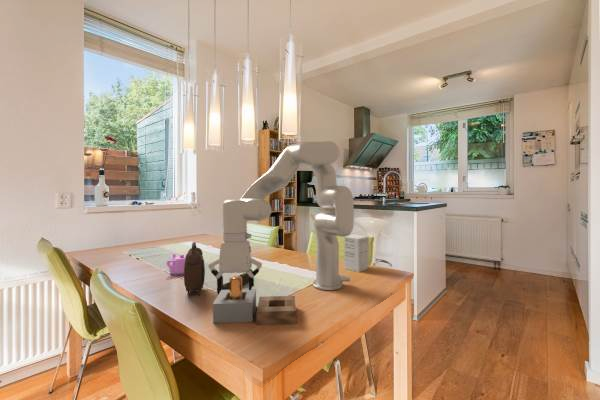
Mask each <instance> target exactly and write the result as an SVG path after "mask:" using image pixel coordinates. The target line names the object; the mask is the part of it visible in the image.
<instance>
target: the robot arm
mask: <svg viewBox="0 0 600 400" xmlns="http://www.w3.org/2000/svg"><path fill="white" fill-rule="evenodd" d="M339 158H340V147H339V146H338V144H336V143H335V142H333V141H330V140H329V141H325V140H324V141H303V142H298V143H292V144H290V145H287V146H286V147H285V148H284V149H283V151H282V152H281V153H280V154H279V156H278V157H277V159H276V160H275V162H274V163H273V164H272V166H271V167H269V169H268V171H267V172H266V173H264V174H263V175H262V176H261V177H259V178H258V179H257V180H256V181H254V183H252V184H251V185H250V186H249V188H247V190H246V191H245V192H244V194H243V195H242V196H241V197H240V199H226V200H224V201H223V203H222V222H223V223H222V225H223V227H222V230H223V231H222V233H223V234H222V235H223V238H222V240H223V241H221V243H220V246H219V247H220V250H219V258H218V259H216V260H214V261H213V262H209V264H208V265H207V267H208V269H209V270H210V272H211V274H212V275H213V276H214V277H215V279H216V288H217V287H219V291H221V290H222V288H223V285H224V276H223V274H236V273H237V274H238V273H239V274H241V273H242V274H244V273H247V274H248V275H249V276H250V277H249V282H248V289H249V290H251V289H253V287H254V286H255V282H254V281H255V276H256V275H257V274H258V273H259V272H260V270H261V268H262V266H263V262H260V261H259V260H257V259H255V258H253V257H252V249H251V248H252V247H251V242H250V240H248V239H251V238H252V233H249V232H248V226H247V225H248V222H249V221H253V222H261V221H263V222H264V221H265V220H267V219H268V218H269V217H270V216H271V215H272V205H270V204H271V203H270V202H269V201H267V200H266V198H267V197H268V196H270V195H271V194H274V193H276V192H278V191H280V190H282V189H284V188H285V187H287V186H288V185H289V183H290V182H291V180H292V179H293V177H294V176H295V174H296V173H297V172H298V170H299V169H300V168H301V167H305V166H309V167H310V168H311V169H312V170H313V173H314V175H315V182H316V183H315V187H316V189H315V190H316V202H317V205H318V206H319V207H320V208H323V209H329V210H330V209H331V210H334V211H328V210H327V211H325V210H324V211H320V212H318V213H317V214H316V215H315V217H314V218H313V219H314V221H313V226H314V232H315V241H316V242H315V243H316V245H315V247H316V248H315V249H316V252H315V253H316V254H315V255H316V257H315V259H316V264H315V265H316V269H315V270H316V275H315V276H316V277H315V278H316V279H314V281H312V287H314V288H315V289H318V290H321V291H322V290H323V291H335V290H340V289H341V288H342V287H343V282H350V281H351V277H350V276H346V275H340V265H339V264H340V262H339V261H340V257H339V256H340V245H339V244H340V243H339V240H338V237H342V238H344V237H345V236H350V235H352V232H353V229H354V226H355V225H354V224H355V223H354V222H355V220H354V217H355V216H354V215H355V214H354V196H353V193H352V191H351V190H350V188H349V187H348V186H346V185H337V173H336V170H335V168H334V165H332V164H334V163H336V162H337V161H338V159H339ZM217 265H218V270H219V271H218V270H217V269H216V268H215V266H217ZM252 265H254V266H256V268H255V269H254V270H253V269H252Z"/></svg>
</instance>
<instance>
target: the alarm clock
mask: <svg viewBox="0 0 600 400" xmlns="http://www.w3.org/2000/svg"><path fill="white" fill-rule="evenodd" d="M185 256H186V257H185V264H184V275H183V284H184V287H185V291H186V292H187V296H190V292H197V296H200V293H201V292H200V291H202V289H203V288H204V284H205V276H206V269H205V259H204V256H203V250H202V249H201V248H199V247H197V242H195V241H192V244H191V248H189V250H187V253H186V255H185Z"/></svg>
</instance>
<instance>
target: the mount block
mask: <svg viewBox="0 0 600 400" xmlns="http://www.w3.org/2000/svg"><path fill="white" fill-rule="evenodd" d="M295 297H296V296H295V295H275V296H272V295H271V296H268V295H267V296H259V298H258V304H257V308H256V325H257V326H261V325H262V326H263V325H264V326H265V325H290V324H291V325H293V324H295V325H296V324H297V309H296V308H297V307H296V299H295Z"/></svg>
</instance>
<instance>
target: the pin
mask: <svg viewBox="0 0 600 400" xmlns="http://www.w3.org/2000/svg"><path fill="white" fill-rule="evenodd" d="M229 282H230V300H242V289H243V285H242V277H241V276H240V275H237V276H235V275H234V276H230V277H229Z"/></svg>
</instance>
